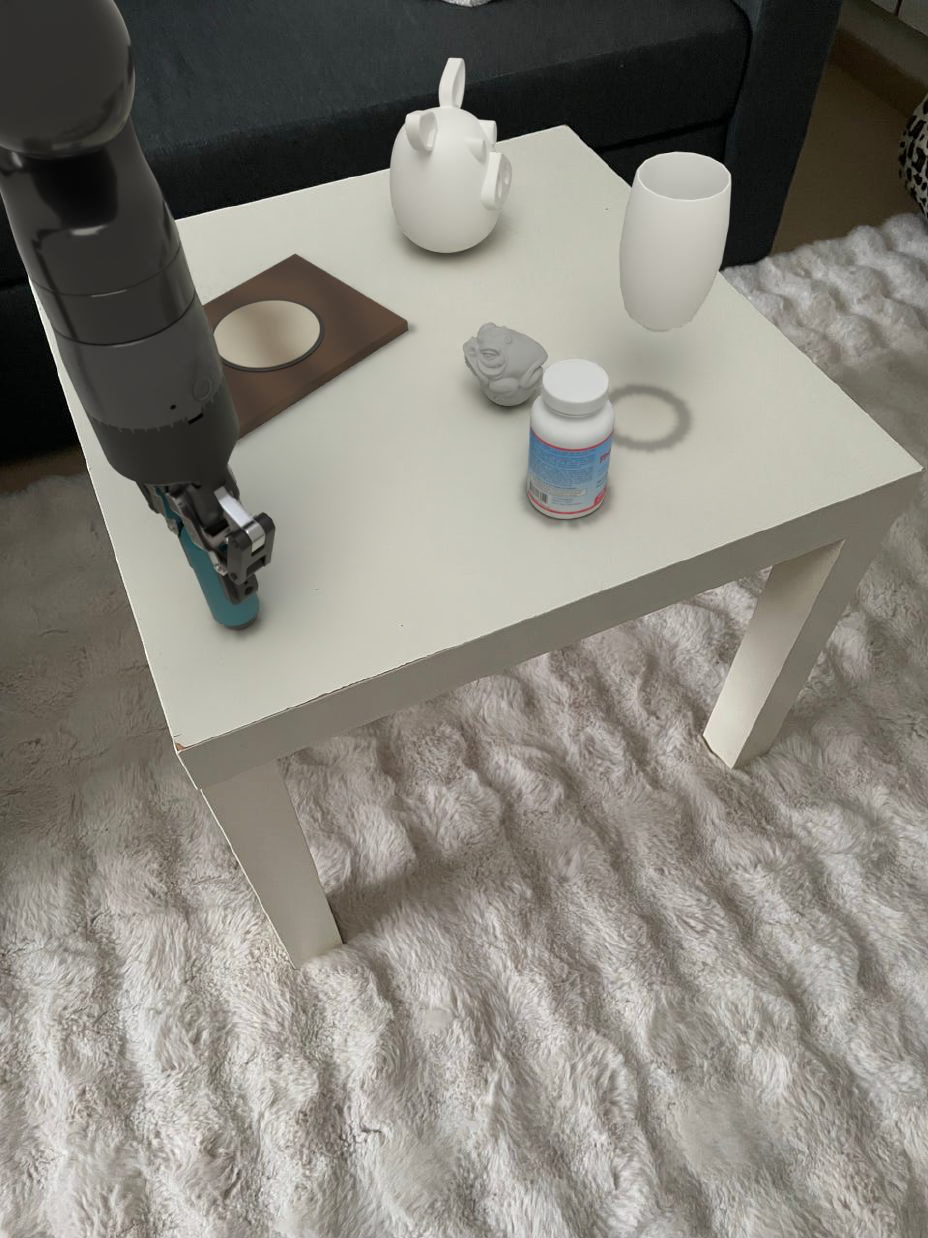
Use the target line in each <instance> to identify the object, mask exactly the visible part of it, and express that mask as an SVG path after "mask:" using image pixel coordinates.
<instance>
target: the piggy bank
mask: <svg viewBox="0 0 928 1238" xmlns="http://www.w3.org/2000/svg"><path fill="white" fill-rule="evenodd" d="M465 85H466V64H465V60H464V59H463V58H462V57H449V58H448V59H447V62H446V65H445V67H444V70H443V71H442V75H441V77H440V80H439V86H438V102H439V106H438V107H432V108H428V109H425V110H415V111H412V112H410V113H407V114H406V116H405V121H404V123H403V124H402V126H401V128H400V129H399V131H398V133H397V135H396V138H395V140H394V144H393V146H392V150H391V157H390V164H389V195H390V202H391V203H390V204H391V208H392V211H393V215H394V218H395V220H396V222H397V225H398V226H399V228H400V230H401V231H402V232H403V234H404V235H405V236H406V237H407V238H408V239H409V240H410V241H411V242H412V243H414V244H415V245H416V246H418V247H420V248H422V249H424V250H428V251H431V252H435V253H439V254H442V253H443V254H450V253H451V254H452V253H458V252H462V251H465V250H468V249H471V248H472V247H474V246H477V245H478V244H479V243H482V241H484V240H485V239H486V238H487V237H488V236H489V235H490V234H491V232H492V231H493V230H494V229H495V226H497V223H498V221H499V219H500V216H501V213H502V209H503V205H504V203H505V202H506V200H507V198H508V195H509V193H510V189H511V186H512V180H513V179H512V178H513V169H512V164H511V161H510V160H509V158H508V157H507V156H506V155H505V154H504V153H503V152H500V151H498V152H497V151H496V149H495V145H496V144H497V138H498V127H497V123H496V121H495V120H487V119H479V118H478V117H476V116H475V115H473V113H471V112H469V111H467V110H464V109H462V108H461V107H462V104H463V100H464V95H465Z"/></svg>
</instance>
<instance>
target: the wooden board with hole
mask: <svg viewBox="0 0 928 1238" xmlns="http://www.w3.org/2000/svg"><path fill="white" fill-rule="evenodd" d="M202 305H203V307H204V309H205V312H206V314H207V316H208V318H209V321H210V324H211V327H212V330H213V334H214V337H215V341H216V344H217V348H218V351H219V354H220V358H221V361H222V365H223V368H224V372H225V375H226V379H227V382H228V386H229V389H230V392H231V396H232V399H233V403H234V406H235V410H236V413H237V417H238V421H239V435H238V439H237V441H238V440H240V439H241V438H243V437H245V435H248V434H249V433H250V432H252V431H253V430H255V429H256V428H258V427H259V426H261V425H262V424H264V423H266V422H267V421H268V420H271V419H272V418H273V417H275V416H276V415H278V414H279V413H281V412H283V411H284V410H286V409H287V408H289V407H290V406H292V405H294V404H295V403H297V402H298V401H300V400H301V399H303V398H304V397H306V396H308V395H309V394H311V393H312V392H314V391H315V390H317V389H319V388H321V386H323V385H325V384H327V383H328V382H329V381H331V380H332V379H334V378H335V377H337V376H338V375H340V374H342V373H343V372H344V371H346V370H347V369H349V368H351V367H352V366H354V365H356V364H357V363H359V362H360V361H362V360H363V359H365V358H366V357H368V356H369V355H371V354H373V353H374V352H376V351H377V350H379V349H380V348H382V347H383V346H385V345H386V344H388V343H390V342H391V341H393V340H394V339H396V338H397V337H399V336H401V335H402V334H404V333H405V332H407V331H408V330H409V325H408V324H409V323H408V320H407V319H405V318H404V317H402V316H400V315H399V314H397V313H396V312H394V311H393V310H390V309H389V308H388V307H385V306H384V305H382V304H381V303H379V302H377V301H376V300H374V299H372V298H370V297H369V296H367V295H365V294H364V293H362V292H360V291H359V290H357V289H355V288H354V287H352V286H350V285H349V284H347V283H346V282H344V281H342V280H341V279H339V278H337V277H336V276H334V275H332V274H330V273H329V272H327V271H325V270H324V269H322V268H320V267H319V266H317V265H316V264H314V263H312V262H310V261H309V260H308V259H305V258H304V257H303V256H301V255H299V254H297V253H293V254H292V255H290V256H288V257H287V258H285V259H283V260H281V261H279V262H278V263H276V264H274V265H272V266H270V267H268V268H266V269H265V270H263V271H261V272H259V273H258V274H256V275H254V276H252V277H251V278H249V279H247V280H246V281H245V280H244V281H243V282H242V283H240V284H238V285H236V286H235V287H233V288H230V289H229V290H228V291H226V292H224V293H222V294H220V295H218V296H217V297H215V298H213V299H211V300H209V301H208V302H206V303H204V304H202Z"/></svg>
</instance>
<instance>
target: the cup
mask: <svg viewBox="0 0 928 1238" xmlns="http://www.w3.org/2000/svg"><path fill="white" fill-rule="evenodd" d="M731 193H732V175H731V172H730V171H729V170H728V168H726V166H725V164H723V163H722V162H719V161H717V160H716V159H714V158H712V157H711V156H706V155H704V154H699V153H695V152H684V151H673V152H668V153H659V154H656V155H654V156H652V157H650V158H648V159H645V160H644V161H643V162H642V163H641V164H640V165H639V167H638V168H637V169H636V171H635V175H634V178H633V182H632V186H631V189H630V192H629V196H628V200H627V202H626V206H625V211H624V219H623V222H622V223H623V224H622V229H621V237H620V242H619V251H618V264H619V265H618V266H619V286H620V291H621V297H622V302H623V306H624V310H625V311H626V313H627V314H628V316H629V318H630V319H632V320H633V321H634V322H636V323H637V324H639V325H640V326H642V327H643V328H644V329H645V330H647V331H650V332H653V333H666V332H670V331H672V330H673V329H677V328H682V327H683V326H685V325H687V324H689V323H691V322H692V321H693V319H694V318H695V317H696V315H697V314H698V312H699V310H700V309H701V308H702V306H703V304H704V302H705V301H706V299H707V297H708V296H709V294H710V292H711V290H712V287H713V285H714V283H715V280H716V277H717V275H718V273H719V271H720V268H721V266H722V263H723V258H724V251H725V247H726V242H727V235H728V231H729V225H730V208H731V195H732V194H731Z"/></svg>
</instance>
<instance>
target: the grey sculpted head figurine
mask: <svg viewBox="0 0 928 1238" xmlns="http://www.w3.org/2000/svg"><path fill="white" fill-rule="evenodd" d="M476 335H477V336H471V337H470V338H469V339H468V340H467V341H466V342H464V343H463V344H462V351H463V354H464V355H463V357H464V360H465V361H464V363H465V365H466V367H467V368H469V370H470V372H471V373H472V374H473V376H474V377H476V378H477V380H478V381H479V385H480V388H481V390H482V392H483V393H484V395H485V396H486V397H487V398H488V399H489V400H490V401H491V402H494V403H495V404H497V405H499V406H504V407H513V406H517V405H521V404H523V403H524V402H526V401H527V400H528V399H529V398H530V397H531V396H532V395H533V394H534V392H535V391H536V389H538V388H539V386H540V385H541V383H542V378H543V374H544V368H543V367H542V365H544V364H545V363H546V362H547V360H548V358H549V355H548V352H547V351H546V349H545V348H544V346H543V345H542V344H541V343H539V342H538V341H537V340H535V339H533V338H532V337H530V336H528V335H527V334H524V333H522V332H519V331H517V330H515V329H512V328H509V327H506V326H504V325H503V326H498V325H497V324H495V322H492V321H491V322H486V323H483V324H482V325H481V326H480V327H479V329H478V331H477V333H476Z"/></svg>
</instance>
